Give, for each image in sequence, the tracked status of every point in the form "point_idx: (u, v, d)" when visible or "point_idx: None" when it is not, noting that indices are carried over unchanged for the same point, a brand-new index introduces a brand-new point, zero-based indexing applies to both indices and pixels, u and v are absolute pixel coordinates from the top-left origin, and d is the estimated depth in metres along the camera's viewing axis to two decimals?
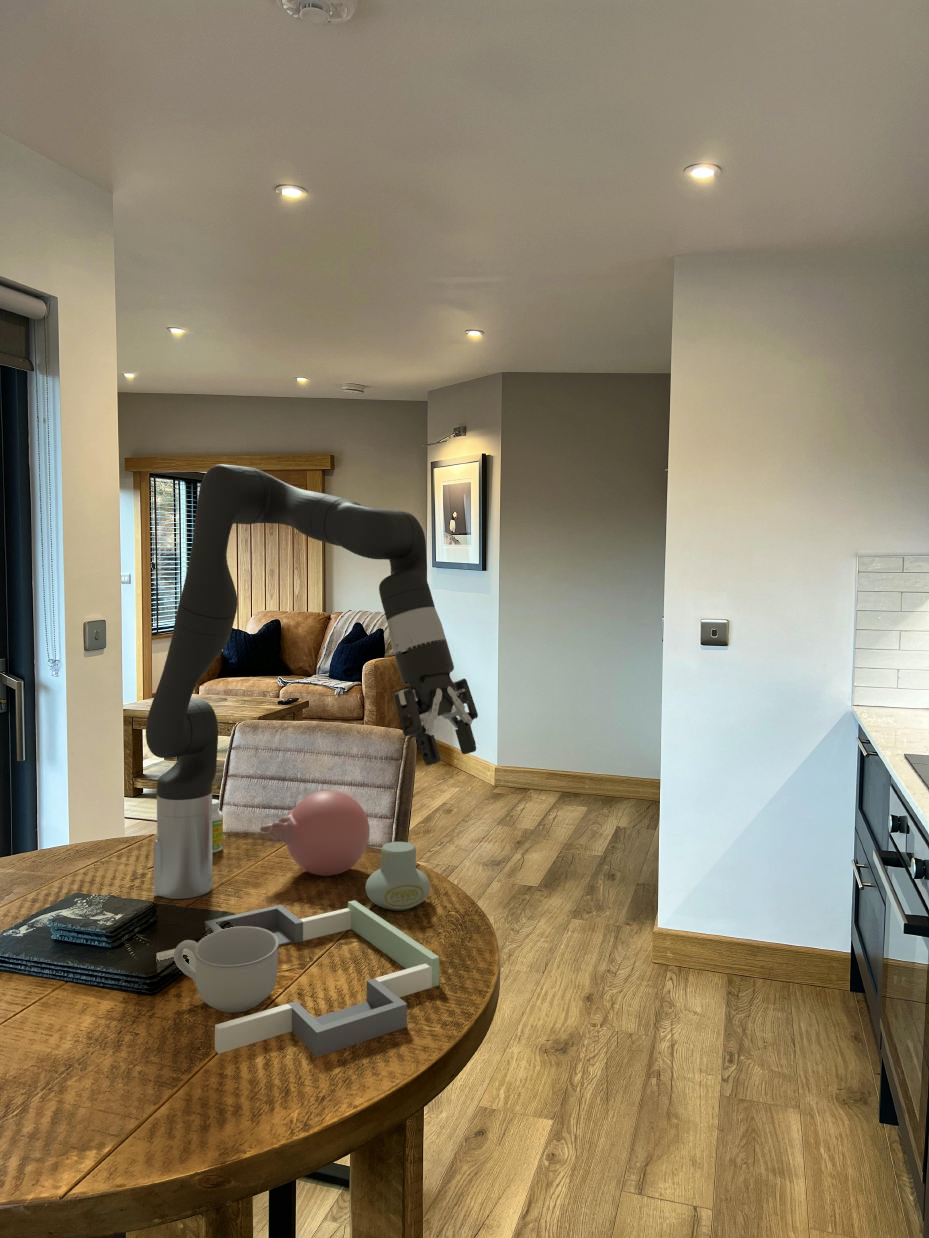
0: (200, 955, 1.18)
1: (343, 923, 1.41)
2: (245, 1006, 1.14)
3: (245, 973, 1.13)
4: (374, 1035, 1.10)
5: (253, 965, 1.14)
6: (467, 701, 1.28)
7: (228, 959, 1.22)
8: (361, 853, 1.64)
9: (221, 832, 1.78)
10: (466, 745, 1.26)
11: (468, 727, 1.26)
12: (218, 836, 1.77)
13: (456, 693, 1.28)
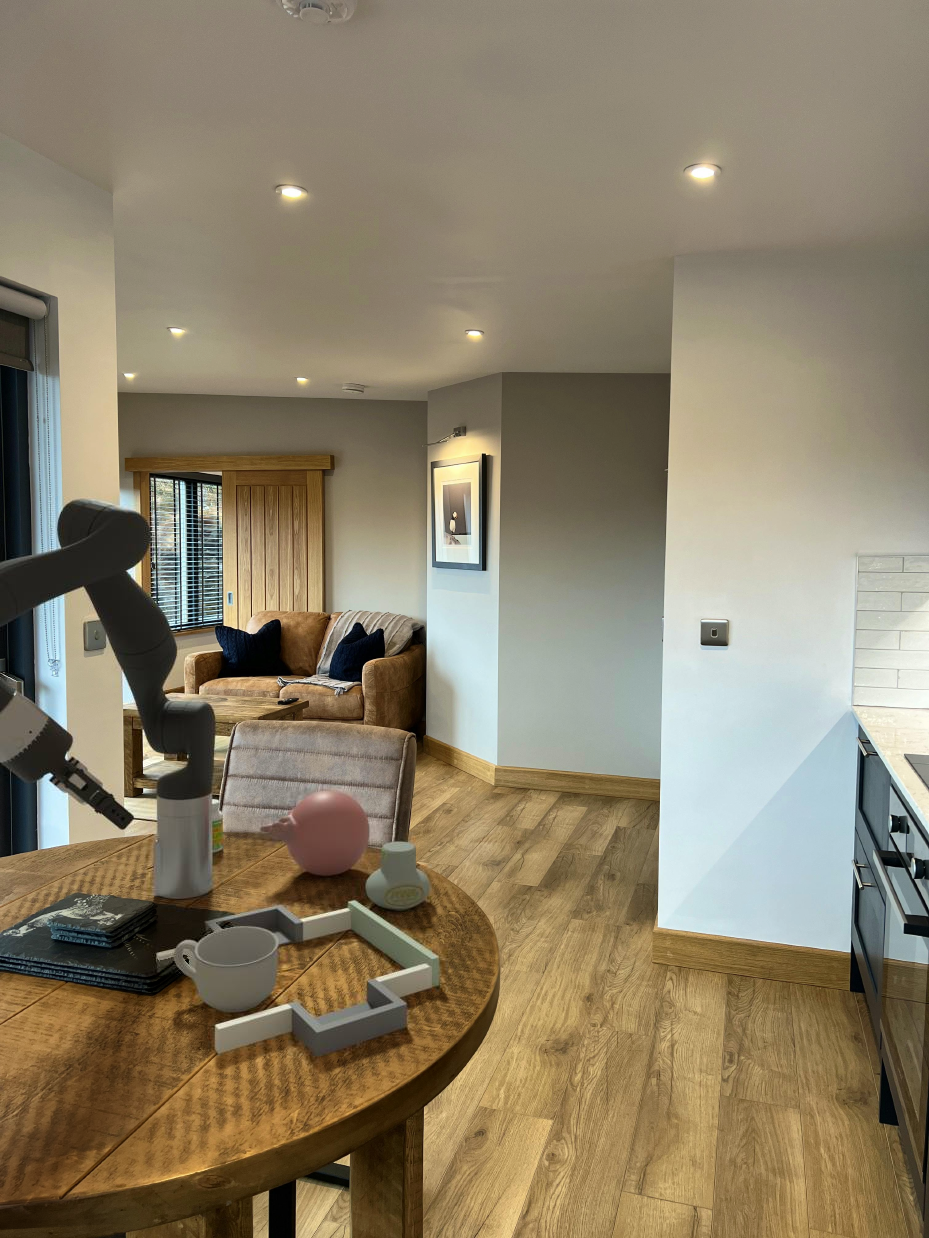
0: (200, 955, 1.18)
1: (343, 923, 1.41)
2: (245, 1006, 1.14)
3: (245, 973, 1.13)
4: (374, 1035, 1.10)
5: (253, 965, 1.14)
6: None
7: (228, 959, 1.22)
8: (361, 853, 1.64)
9: (221, 832, 1.78)
10: None
11: (101, 813, 1.11)
12: (218, 836, 1.77)
13: None
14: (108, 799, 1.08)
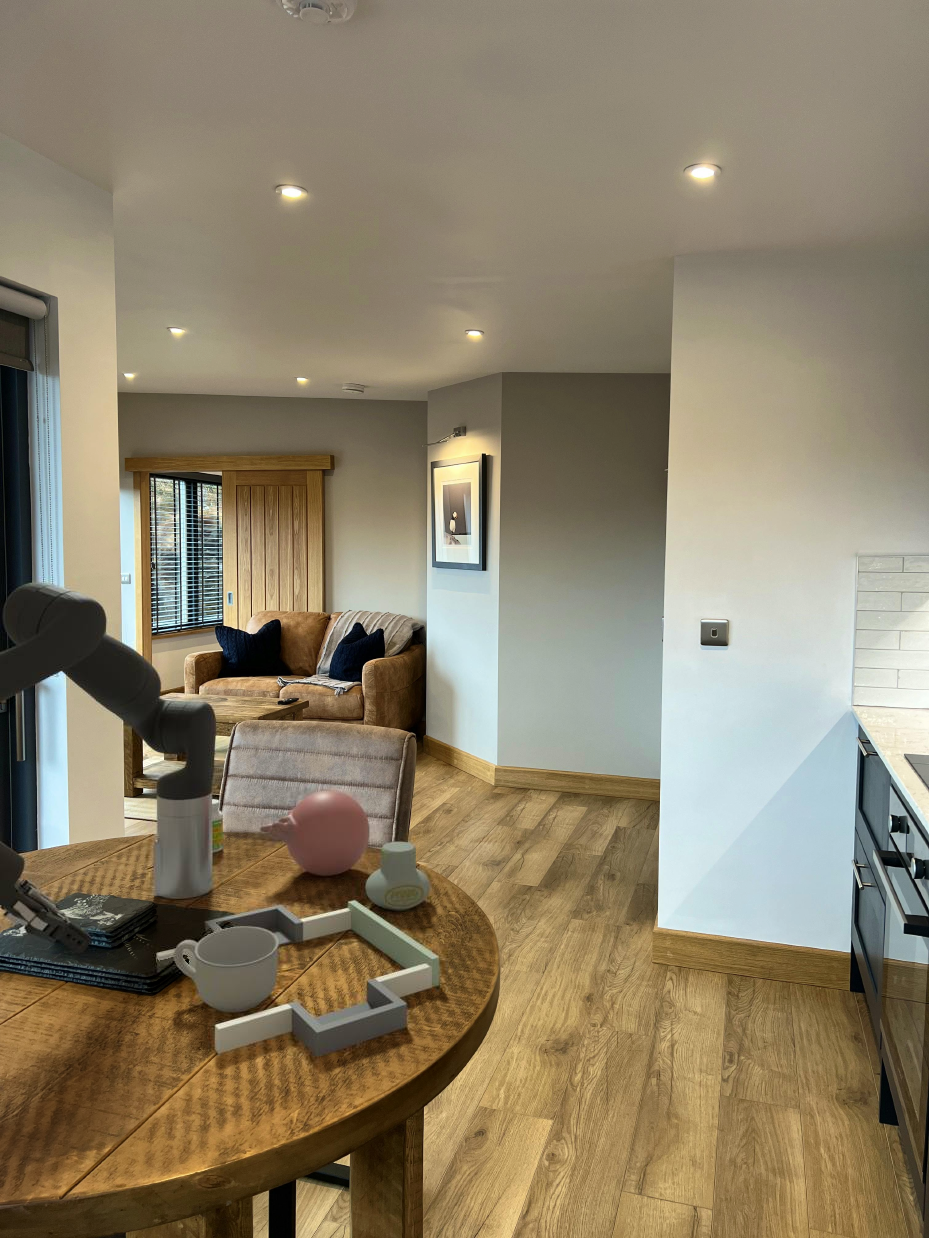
0: (200, 955, 1.18)
1: (343, 923, 1.41)
2: (245, 1006, 1.14)
3: (245, 973, 1.13)
4: (374, 1035, 1.10)
5: (253, 965, 1.14)
6: None
7: (228, 959, 1.22)
8: (361, 853, 1.64)
9: (221, 832, 1.78)
10: None
11: (57, 938, 1.06)
12: (218, 836, 1.77)
13: None
14: (64, 928, 1.04)
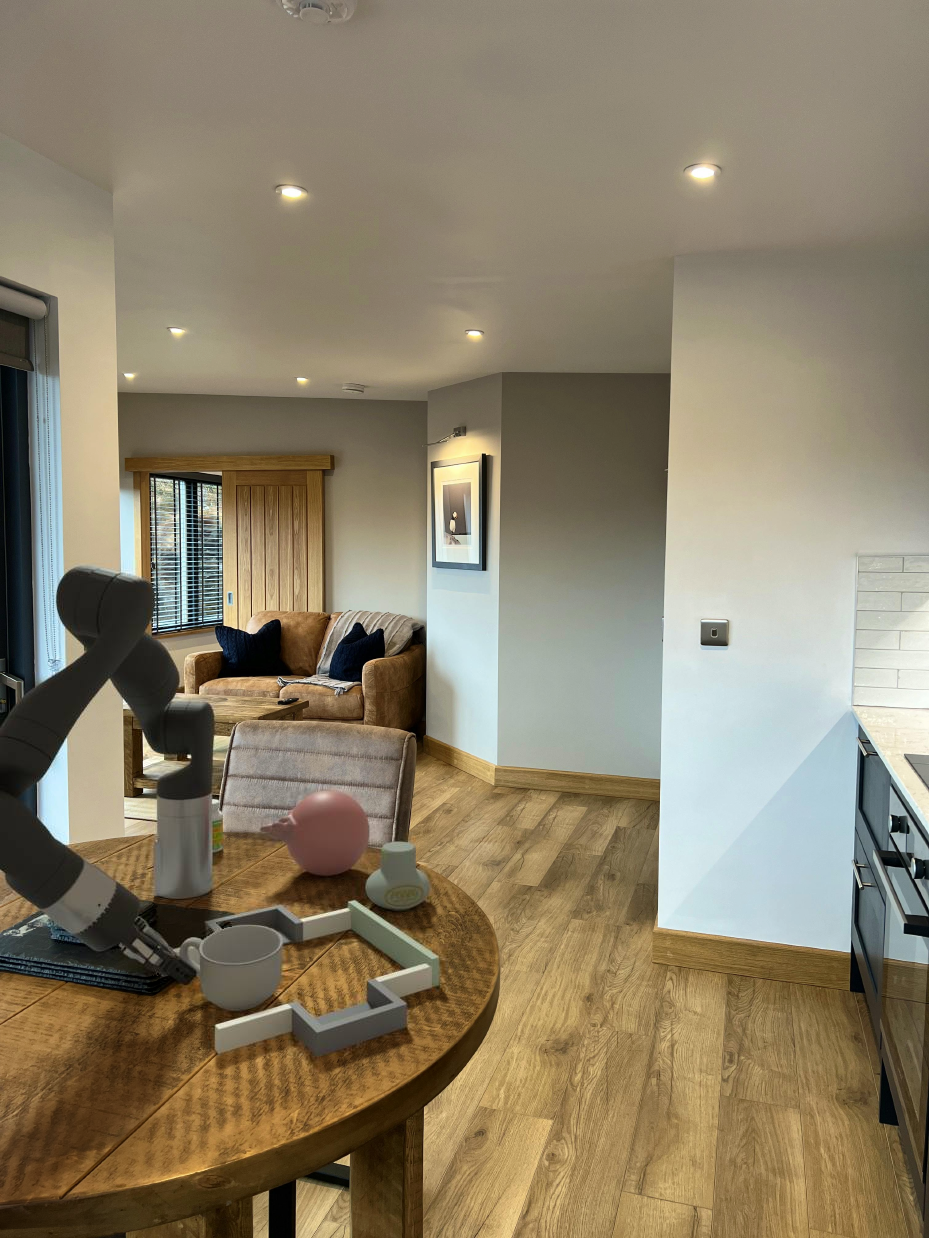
0: (205, 953, 1.18)
1: (343, 923, 1.41)
2: (248, 1005, 1.15)
3: (248, 972, 1.13)
4: (374, 1035, 1.10)
5: (256, 964, 1.14)
6: None
7: (234, 957, 1.23)
8: (361, 853, 1.64)
9: (221, 832, 1.78)
10: None
11: None
12: (218, 836, 1.77)
13: None
14: (175, 963, 1.11)
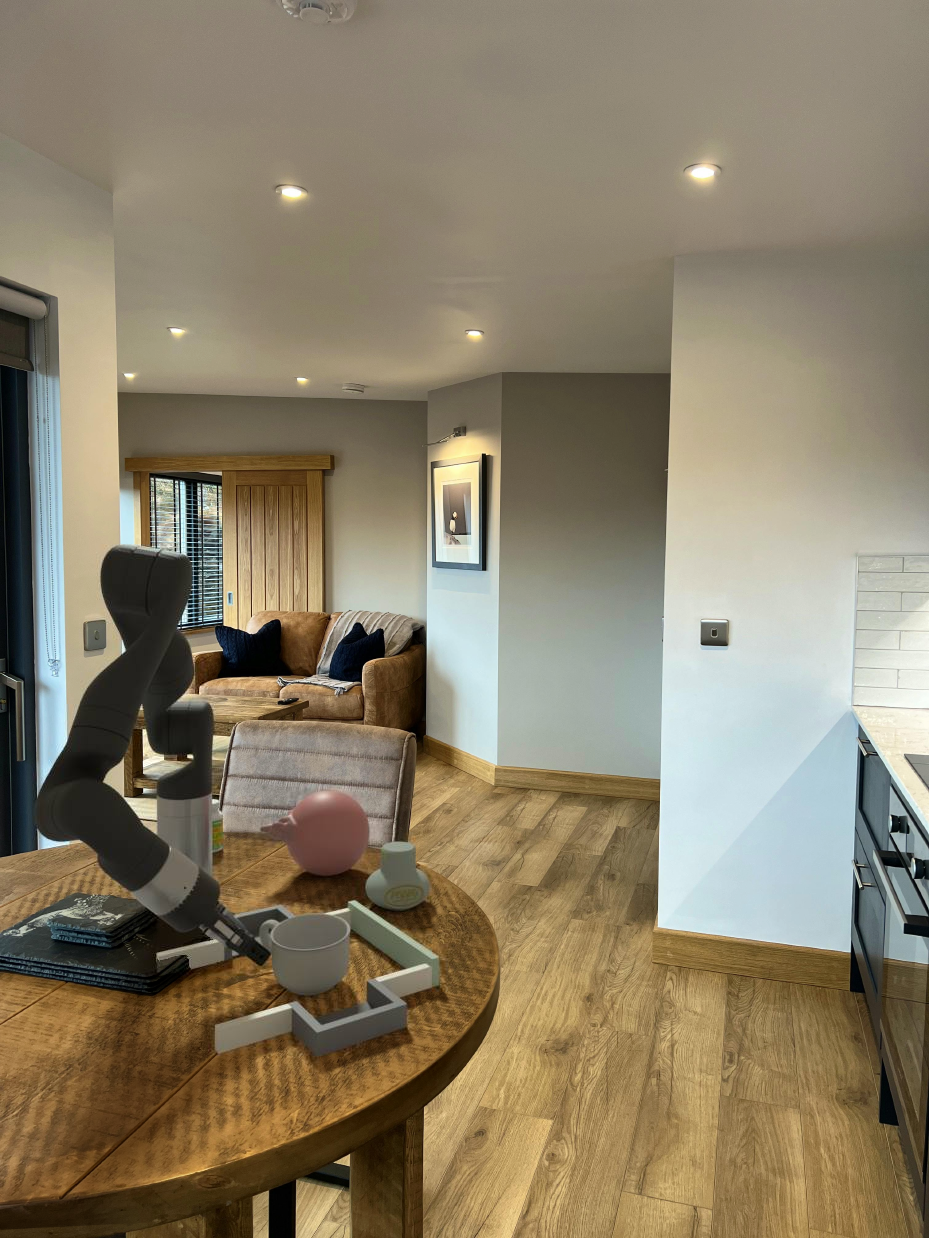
0: (280, 935, 1.24)
1: None
2: (309, 990, 1.19)
3: (308, 958, 1.17)
4: (374, 1035, 1.10)
5: (315, 952, 1.17)
6: None
7: (311, 944, 1.28)
8: (361, 853, 1.64)
9: (221, 832, 1.78)
10: None
11: None
12: (218, 836, 1.77)
13: None
14: (252, 944, 1.17)
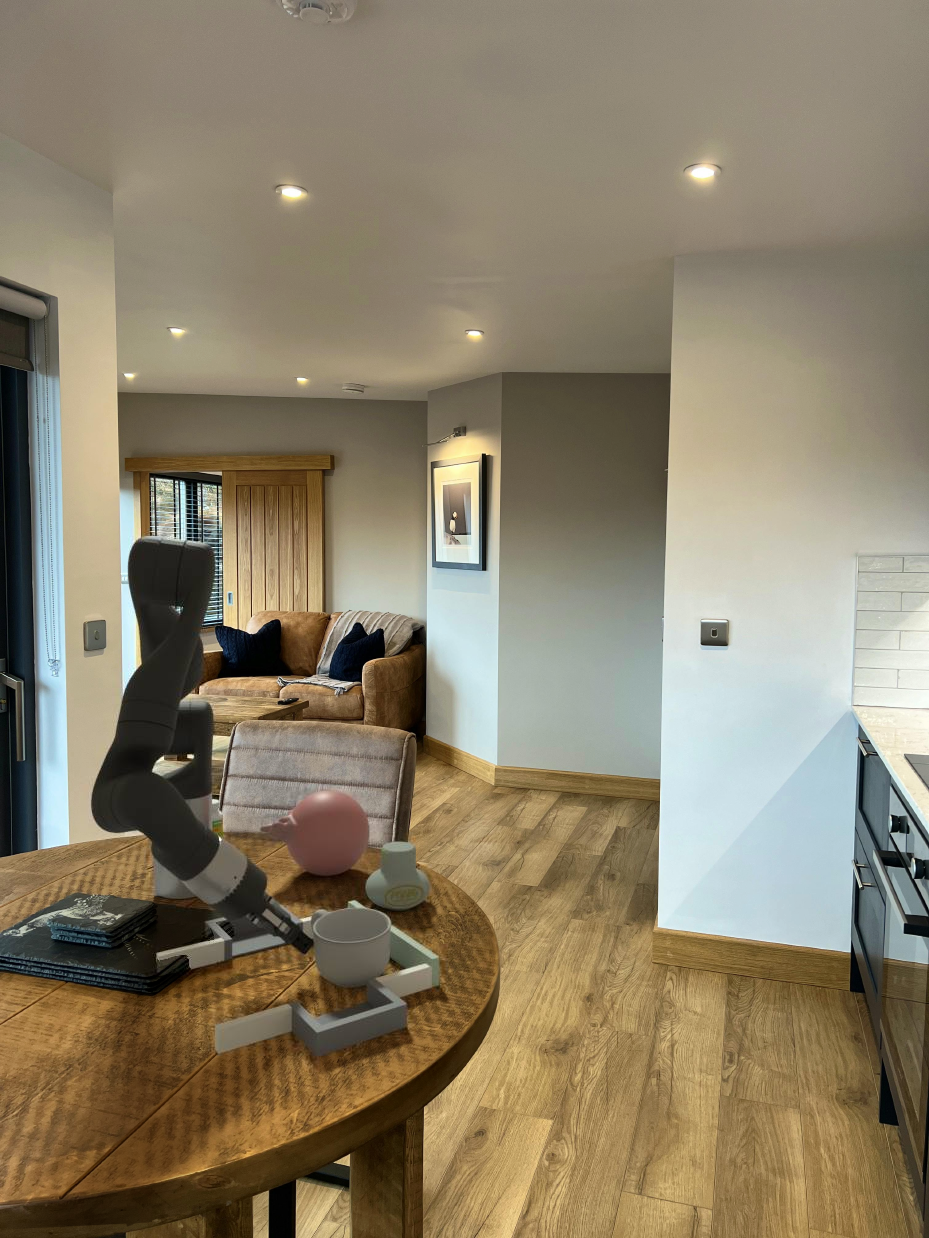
0: (327, 926, 1.28)
1: None
2: (343, 982, 1.21)
3: (341, 951, 1.20)
4: (374, 1035, 1.10)
5: (348, 945, 1.20)
6: None
7: (360, 937, 1.30)
8: (361, 853, 1.64)
9: (221, 832, 1.78)
10: None
11: None
12: None
13: None
14: (298, 932, 1.21)
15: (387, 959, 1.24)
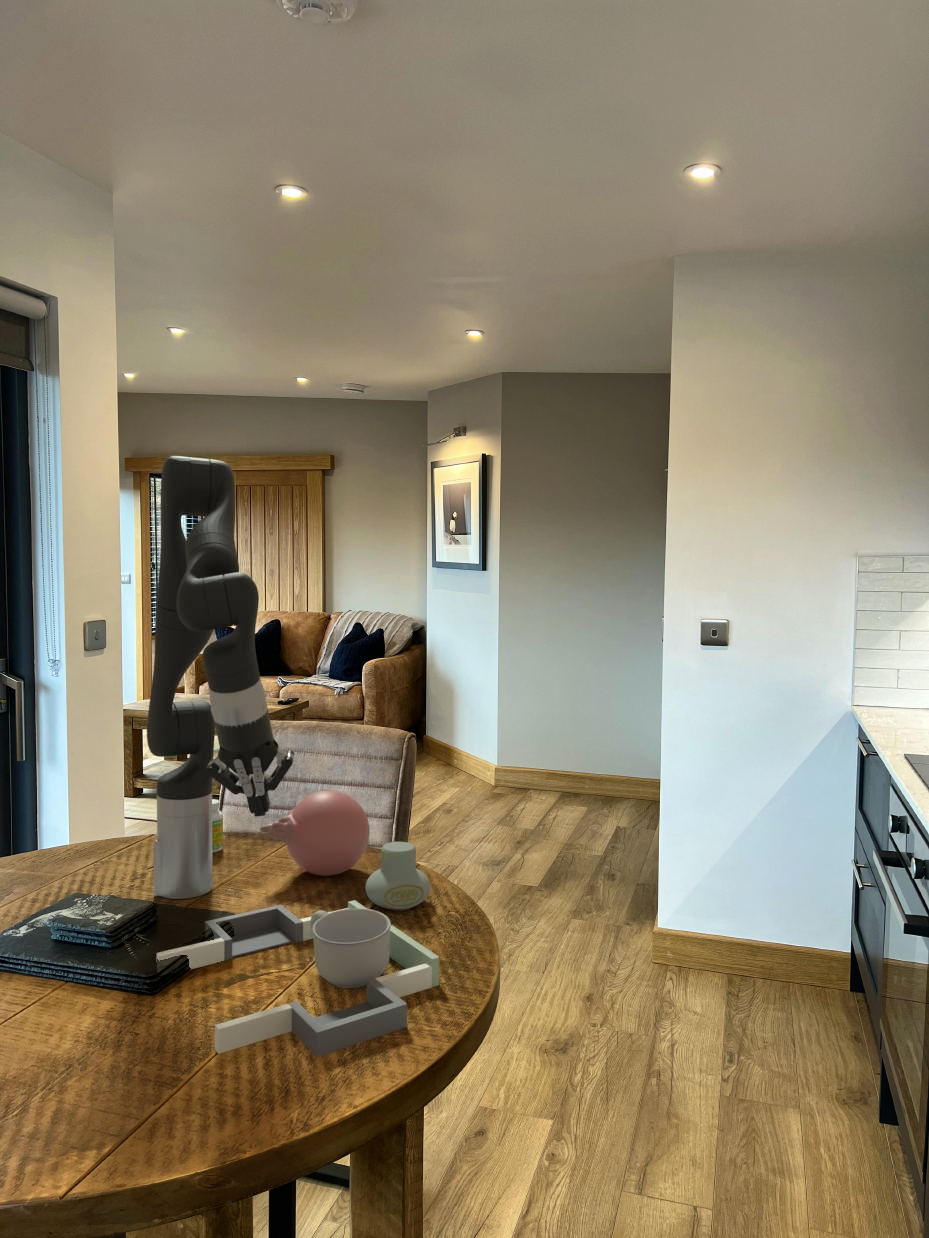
0: (326, 927, 1.28)
1: None
2: (343, 983, 1.21)
3: (341, 952, 1.20)
4: (374, 1035, 1.10)
5: (348, 946, 1.20)
6: (275, 774, 1.29)
7: (360, 938, 1.30)
8: (361, 853, 1.64)
9: (221, 832, 1.78)
10: None
11: (257, 797, 1.30)
12: (218, 836, 1.77)
13: None
14: None
15: (387, 959, 1.24)
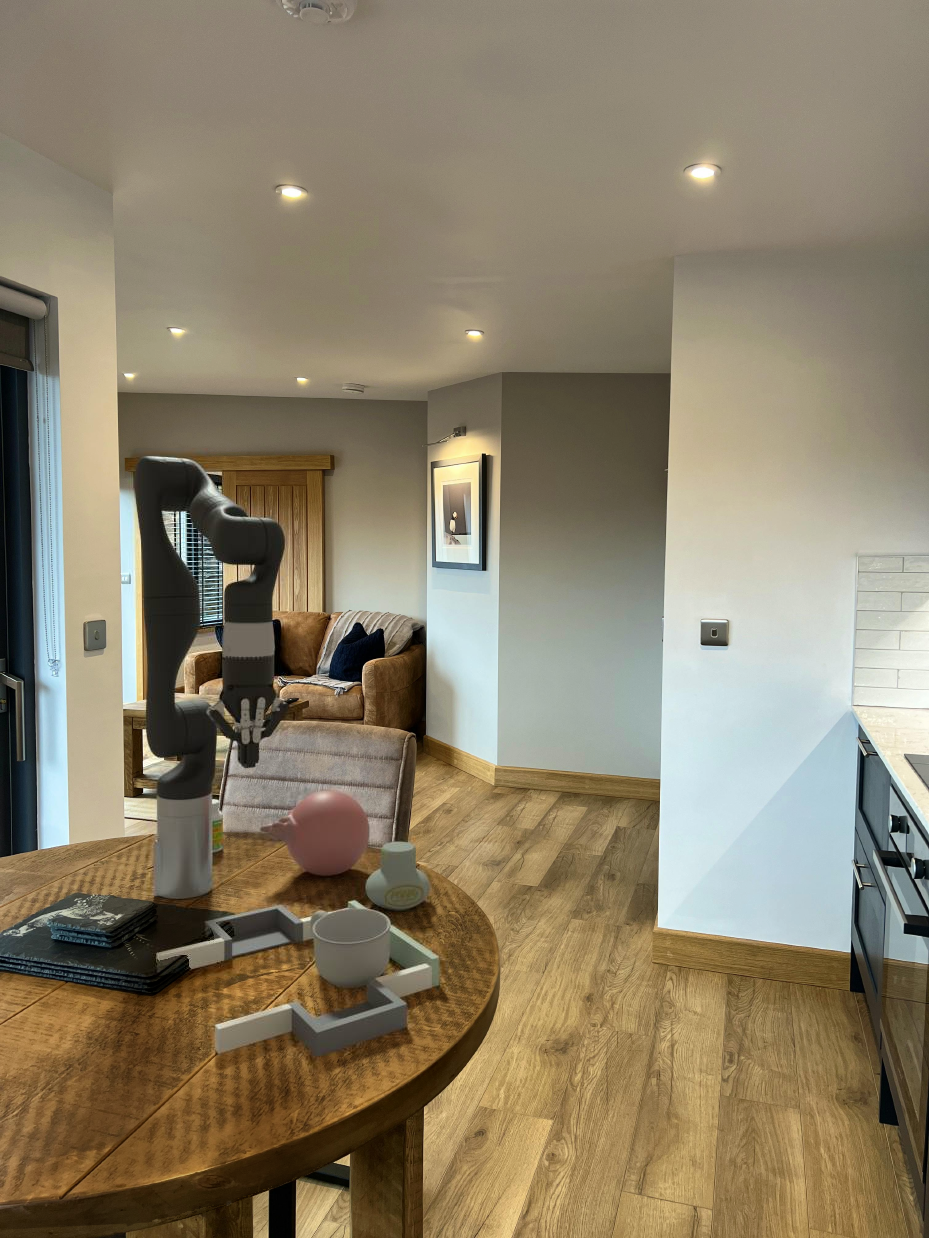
0: (326, 927, 1.28)
1: None
2: (343, 983, 1.21)
3: (341, 952, 1.20)
4: (374, 1035, 1.10)
5: (348, 946, 1.20)
6: (272, 719, 1.35)
7: (360, 938, 1.30)
8: (361, 853, 1.64)
9: (221, 832, 1.78)
10: None
11: (252, 745, 1.34)
12: (218, 836, 1.77)
13: (272, 707, 1.36)
14: None
15: (387, 959, 1.24)
